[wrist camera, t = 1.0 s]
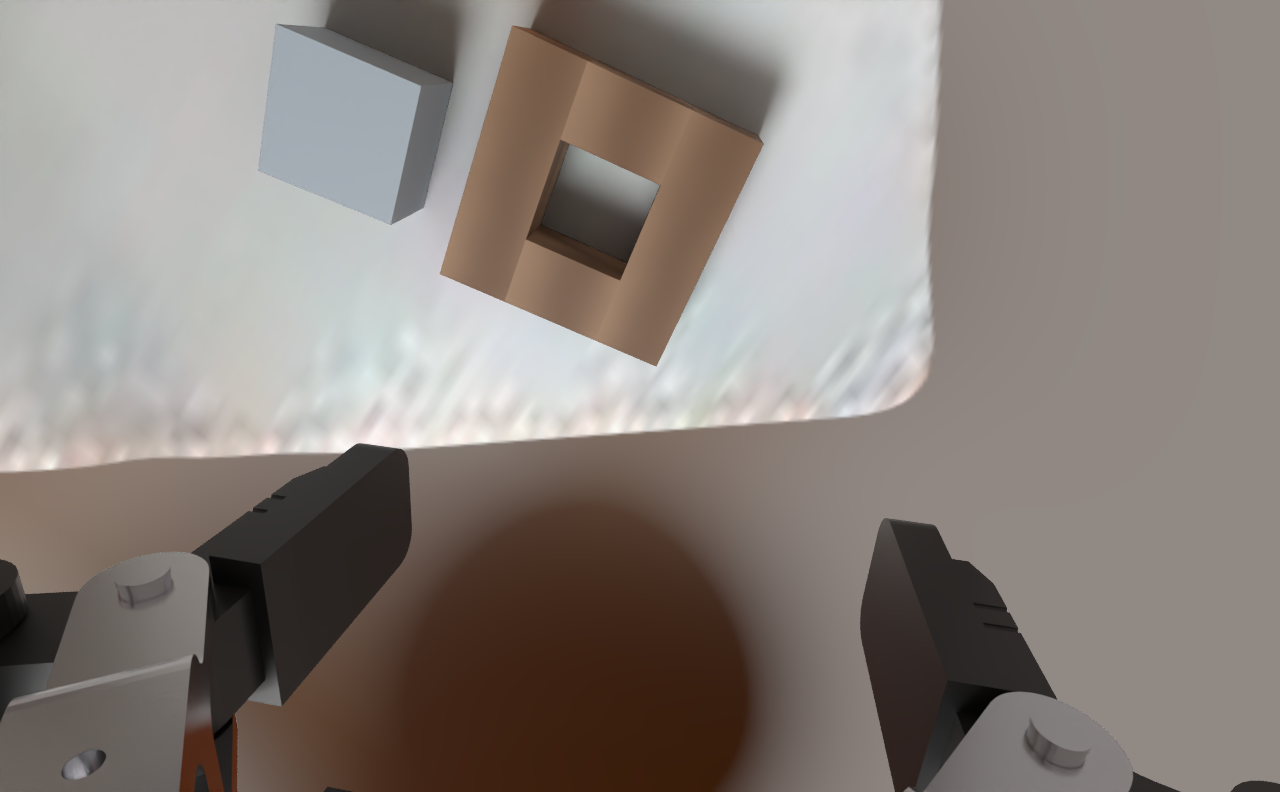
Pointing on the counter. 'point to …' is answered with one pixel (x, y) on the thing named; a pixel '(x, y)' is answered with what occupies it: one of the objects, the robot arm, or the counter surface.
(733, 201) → the hole plate
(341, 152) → the wide block
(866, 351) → the counter surface
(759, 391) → the counter surface
